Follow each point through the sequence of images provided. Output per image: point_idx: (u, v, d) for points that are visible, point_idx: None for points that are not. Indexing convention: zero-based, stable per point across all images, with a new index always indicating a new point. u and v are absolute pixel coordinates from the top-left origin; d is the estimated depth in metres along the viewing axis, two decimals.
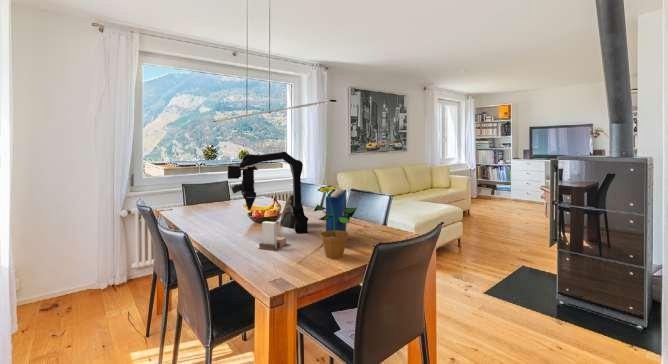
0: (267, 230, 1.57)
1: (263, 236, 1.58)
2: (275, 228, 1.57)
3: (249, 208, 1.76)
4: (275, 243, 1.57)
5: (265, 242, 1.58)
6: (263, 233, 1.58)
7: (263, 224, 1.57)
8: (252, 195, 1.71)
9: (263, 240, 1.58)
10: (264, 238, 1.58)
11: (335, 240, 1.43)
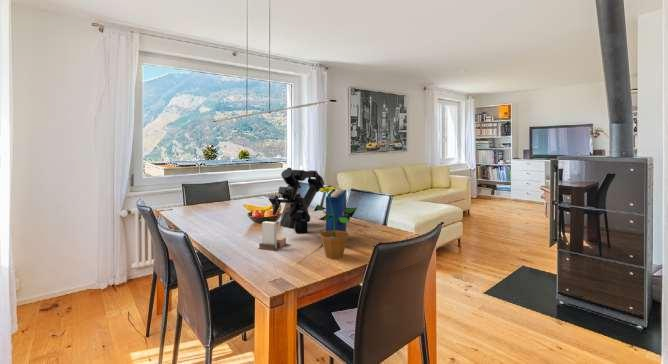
0: (267, 230, 1.57)
1: (263, 236, 1.58)
2: (275, 228, 1.57)
3: (291, 214, 1.68)
4: (275, 243, 1.57)
5: (265, 242, 1.58)
6: (263, 233, 1.58)
7: (263, 224, 1.57)
8: (304, 204, 1.72)
9: (263, 240, 1.58)
10: (264, 238, 1.58)
11: (335, 240, 1.43)
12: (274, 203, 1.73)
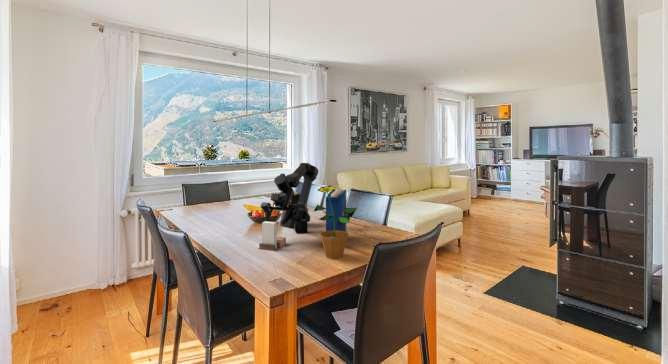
0: (267, 230, 1.57)
1: (263, 236, 1.58)
2: (275, 228, 1.57)
3: (284, 222, 1.60)
4: (275, 243, 1.57)
5: (265, 242, 1.58)
6: (263, 233, 1.58)
7: (263, 224, 1.57)
8: (298, 212, 1.64)
9: (263, 240, 1.58)
10: (264, 238, 1.58)
11: (335, 240, 1.43)
12: (266, 210, 1.65)
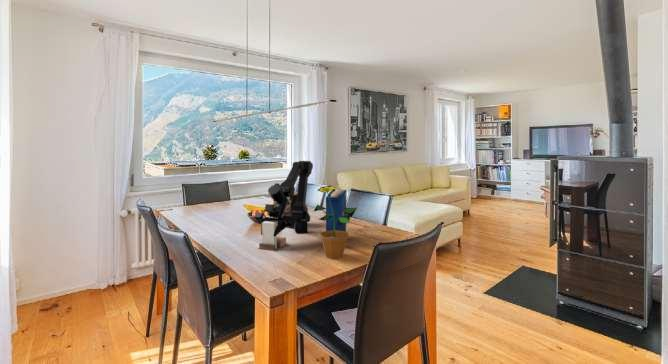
0: (267, 230, 1.57)
1: (263, 236, 1.58)
2: (275, 228, 1.57)
3: (275, 234, 1.56)
4: (275, 243, 1.57)
5: (265, 242, 1.58)
6: (263, 233, 1.58)
7: (263, 224, 1.57)
8: (293, 223, 1.59)
9: (263, 240, 1.58)
10: (264, 238, 1.58)
11: (335, 240, 1.43)
12: None
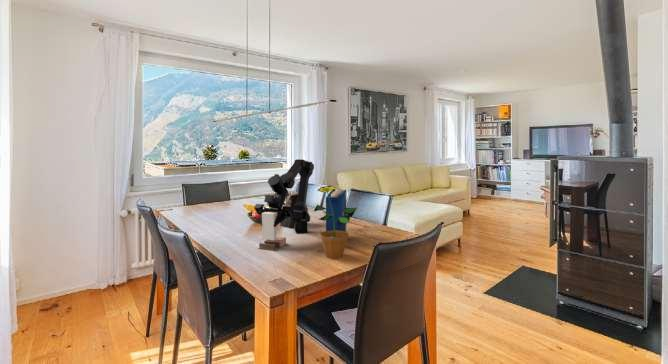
0: (267, 221, 1.56)
1: (263, 227, 1.57)
2: (275, 219, 1.56)
3: (275, 225, 1.56)
4: (275, 234, 1.57)
5: (265, 233, 1.57)
6: (263, 224, 1.57)
7: (263, 215, 1.57)
8: (292, 214, 1.59)
9: (263, 231, 1.57)
10: (264, 229, 1.57)
11: (335, 240, 1.43)
12: None
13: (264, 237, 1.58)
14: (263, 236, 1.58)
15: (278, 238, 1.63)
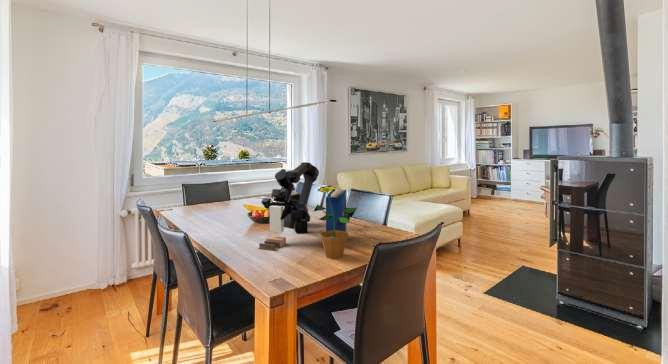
0: (274, 214, 1.62)
1: (270, 220, 1.63)
2: (282, 212, 1.62)
3: (282, 218, 1.62)
4: (282, 226, 1.63)
5: (272, 226, 1.63)
6: (270, 217, 1.63)
7: (270, 208, 1.62)
8: (299, 207, 1.65)
9: (270, 224, 1.63)
10: (271, 222, 1.63)
11: (335, 240, 1.43)
12: None
13: (271, 230, 1.64)
14: (270, 229, 1.64)
15: (278, 238, 1.63)
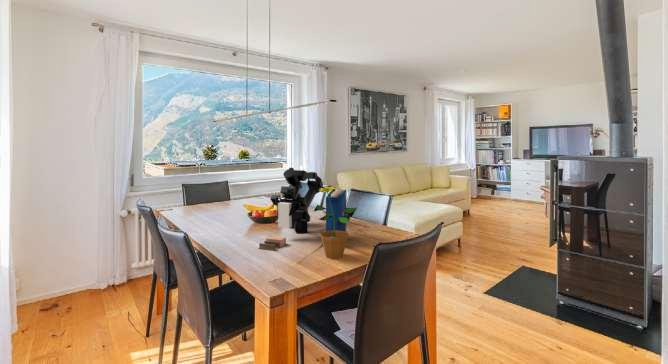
0: (283, 210, 1.70)
1: (279, 216, 1.71)
2: (290, 208, 1.70)
3: (290, 214, 1.69)
4: (290, 222, 1.71)
5: (281, 221, 1.71)
6: (279, 213, 1.71)
7: (279, 205, 1.70)
8: (306, 204, 1.73)
9: (279, 219, 1.71)
10: (280, 218, 1.71)
11: (335, 240, 1.43)
12: None
13: (280, 225, 1.71)
14: (279, 224, 1.72)
15: (278, 238, 1.63)
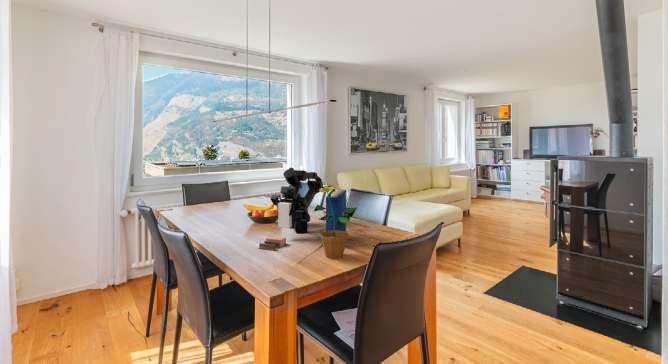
0: (283, 210, 1.70)
1: (279, 216, 1.71)
2: (290, 208, 1.70)
3: (290, 214, 1.69)
4: (290, 222, 1.71)
5: (281, 221, 1.71)
6: (279, 213, 1.71)
7: (279, 205, 1.70)
8: (306, 204, 1.73)
9: (279, 219, 1.71)
10: (280, 218, 1.71)
11: (335, 240, 1.43)
12: None
13: (280, 225, 1.71)
14: (279, 224, 1.72)
15: (278, 238, 1.63)
